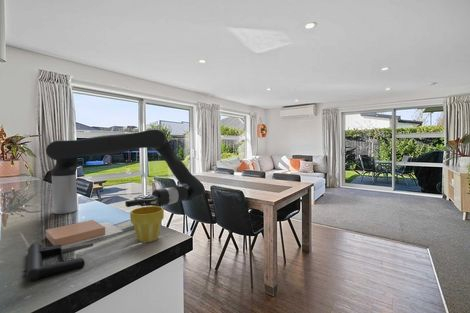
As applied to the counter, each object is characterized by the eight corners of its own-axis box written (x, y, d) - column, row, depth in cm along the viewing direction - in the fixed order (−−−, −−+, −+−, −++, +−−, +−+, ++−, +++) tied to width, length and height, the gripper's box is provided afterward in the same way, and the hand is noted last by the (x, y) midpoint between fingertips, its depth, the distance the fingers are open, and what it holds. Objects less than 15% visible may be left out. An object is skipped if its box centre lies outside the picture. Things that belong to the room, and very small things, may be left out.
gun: (88, 233, 78) (23, 244, 68) (101, 255, 63) (19, 273, 52) (88, 243, 78) (23, 255, 68) (101, 268, 63) (19, 288, 52)
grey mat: (50, 236, 80) (50, 235, 80) (106, 223, 94) (106, 222, 94) (62, 249, 71) (62, 247, 71) (123, 232, 84) (123, 231, 84)
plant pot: (127, 237, 80) (126, 208, 79) (157, 230, 86) (157, 204, 86) (135, 248, 72) (135, 216, 71) (168, 239, 78) (168, 210, 77)
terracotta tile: (92, 226, 89) (45, 237, 78) (92, 219, 89) (45, 229, 78) (105, 234, 81) (55, 247, 70) (105, 227, 81) (54, 239, 70)
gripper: (157, 186, 109) (118, 192, 96) (174, 190, 100) (133, 197, 87) (157, 202, 109) (119, 210, 96) (174, 207, 101) (134, 217, 88)
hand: (126, 204), depth 92 cm, fingers closed
